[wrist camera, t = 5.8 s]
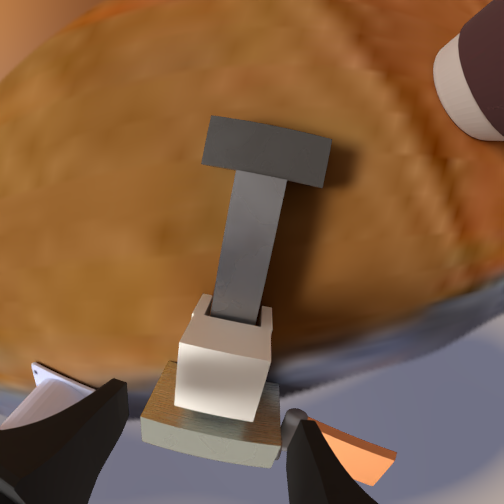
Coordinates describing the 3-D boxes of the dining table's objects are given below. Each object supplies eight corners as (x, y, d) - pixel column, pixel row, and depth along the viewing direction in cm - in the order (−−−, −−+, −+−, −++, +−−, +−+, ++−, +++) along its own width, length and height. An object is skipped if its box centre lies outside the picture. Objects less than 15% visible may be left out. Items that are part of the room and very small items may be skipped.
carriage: (258, 361, 19) (254, 422, 13) (195, 347, 19) (172, 404, 13) (271, 307, 18) (273, 361, 12) (202, 293, 18) (177, 341, 12)
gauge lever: (376, 475, 14) (371, 489, 13) (280, 433, 18) (270, 445, 17) (397, 449, 14) (393, 464, 12) (292, 405, 17) (282, 416, 16)
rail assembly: (273, 407, 20) (273, 468, 15) (167, 385, 20) (141, 441, 15) (343, 150, 16) (380, 137, 10) (202, 121, 16) (170, 95, 10)
